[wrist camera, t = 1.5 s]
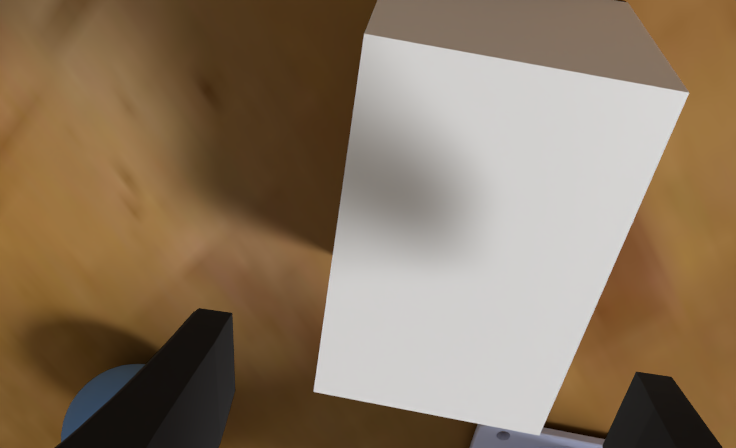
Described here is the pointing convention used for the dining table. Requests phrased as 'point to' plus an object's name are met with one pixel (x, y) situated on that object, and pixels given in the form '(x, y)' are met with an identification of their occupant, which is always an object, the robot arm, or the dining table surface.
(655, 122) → the white cardboard carton
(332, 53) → the dining table surface
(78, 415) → the ball
